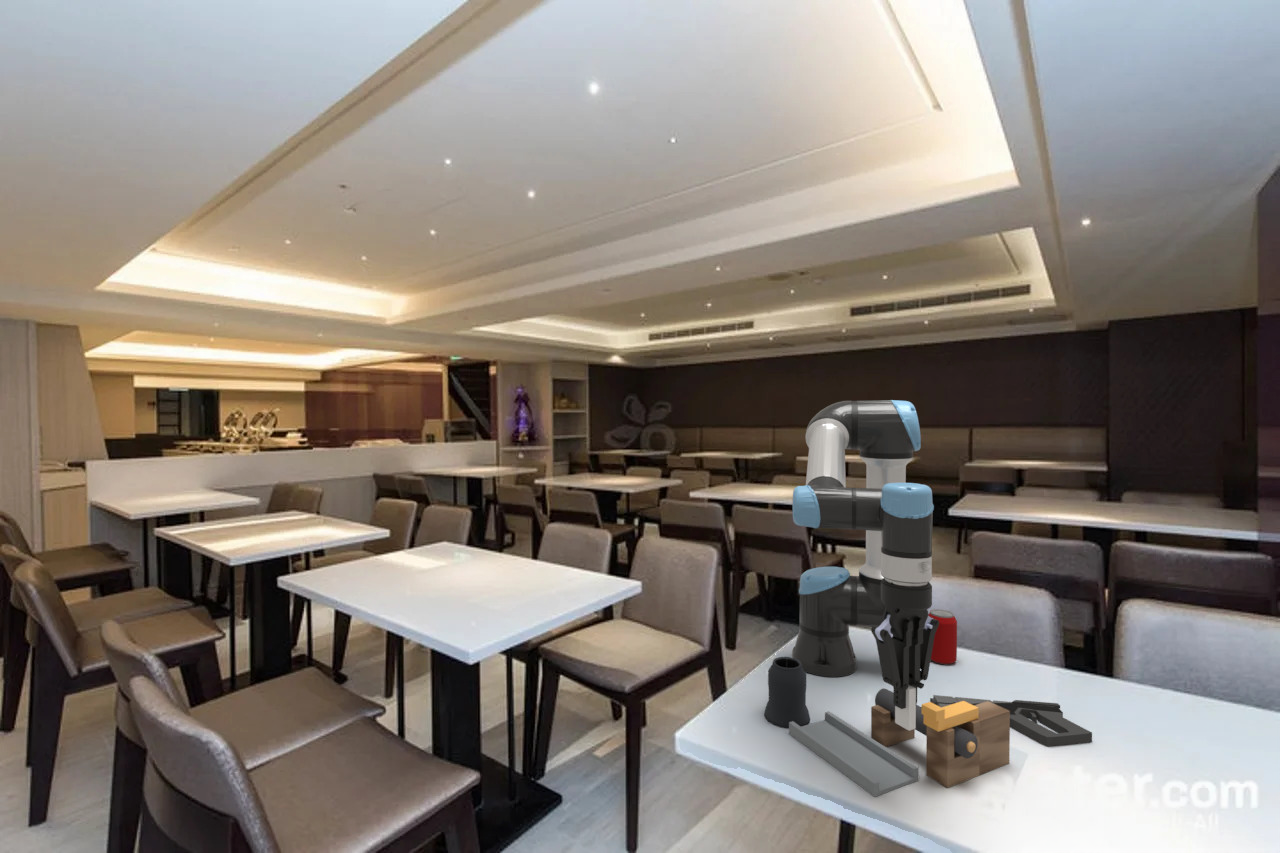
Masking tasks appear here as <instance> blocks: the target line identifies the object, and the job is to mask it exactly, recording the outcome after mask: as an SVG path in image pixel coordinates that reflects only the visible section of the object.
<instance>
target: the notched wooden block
mask: <svg viewBox="0 0 1280 853" xmlns="http://www.w3.org/2000/svg"><path fill="white" fill-rule="evenodd" d="M974 706H976V707H978V708H979V718H978V719H975V720H972V721H969V722H966V723H963V724H960V725H957V726H959V727H960V728H962V729H964V730H966V731H968V732H970V733H972V734H974V735H975V736H976V738H977V742H978V744H977V749H976V752H975V754H974V755H973V756H972V757H971V758H965V757H963V756H961V755H959V754H957V753H956V752H954V729H952V728H948V729H945V730H942V731H939V732H938V731H936V730H934V729H932V728H930V727H929V726H927V736H926V750H925V753H926V758H925V759H926V761H925V763H926V764H925V765H926V767H925V768H926V769H925V770H926V771H925V773H926V774H925V775H926V776H927V777H929V778H931V779H932V780H933V781H936V782H937V783H938V784H940V785H941V786H943V787H945V788H947V789H948V788H951V787H953V786H956V785H958V784H961V783H964V782H967V781H969V780H971V779H974V778H976V777H979V776H981V775H984V774H986V773H989V772H991V771H993V770H994V771H995V770H996V769H999V768H1001V767H1004V766H1006V765H1009V764H1010V750H1011V749H1010V744H1011V742H1010V736H1011V733H1010V732H1011V730H1010V729H1011V728H1010V711H1009V710H1007V709H1004V708H1002V707H1000V706H998V705H996V704H993V703H991V702H989V701H987V702H983V703H980V704H977V705H974Z"/></svg>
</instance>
